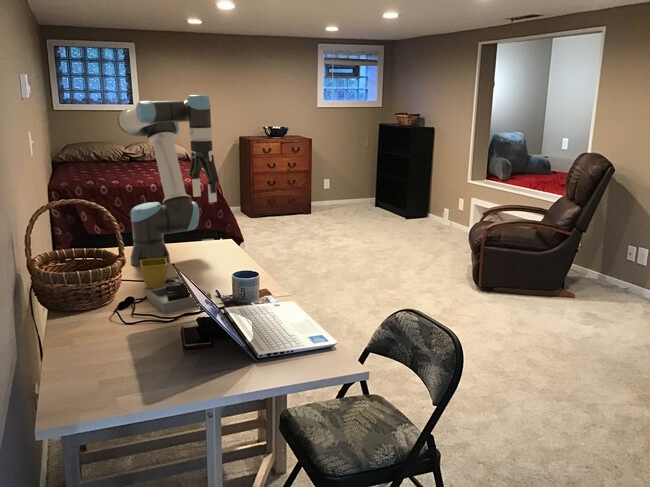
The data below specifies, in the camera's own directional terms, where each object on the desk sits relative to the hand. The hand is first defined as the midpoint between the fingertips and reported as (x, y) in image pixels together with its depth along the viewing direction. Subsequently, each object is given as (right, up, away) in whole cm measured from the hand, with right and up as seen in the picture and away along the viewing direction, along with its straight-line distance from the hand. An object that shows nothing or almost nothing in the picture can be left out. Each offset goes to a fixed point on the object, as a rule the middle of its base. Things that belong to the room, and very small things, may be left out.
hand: (204, 199), depth 207 cm
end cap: (-4, -34, -19) cm, 40 cm away
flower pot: (-16, -31, -5) cm, 36 cm away
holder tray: (-4, -35, -19) cm, 40 cm away
